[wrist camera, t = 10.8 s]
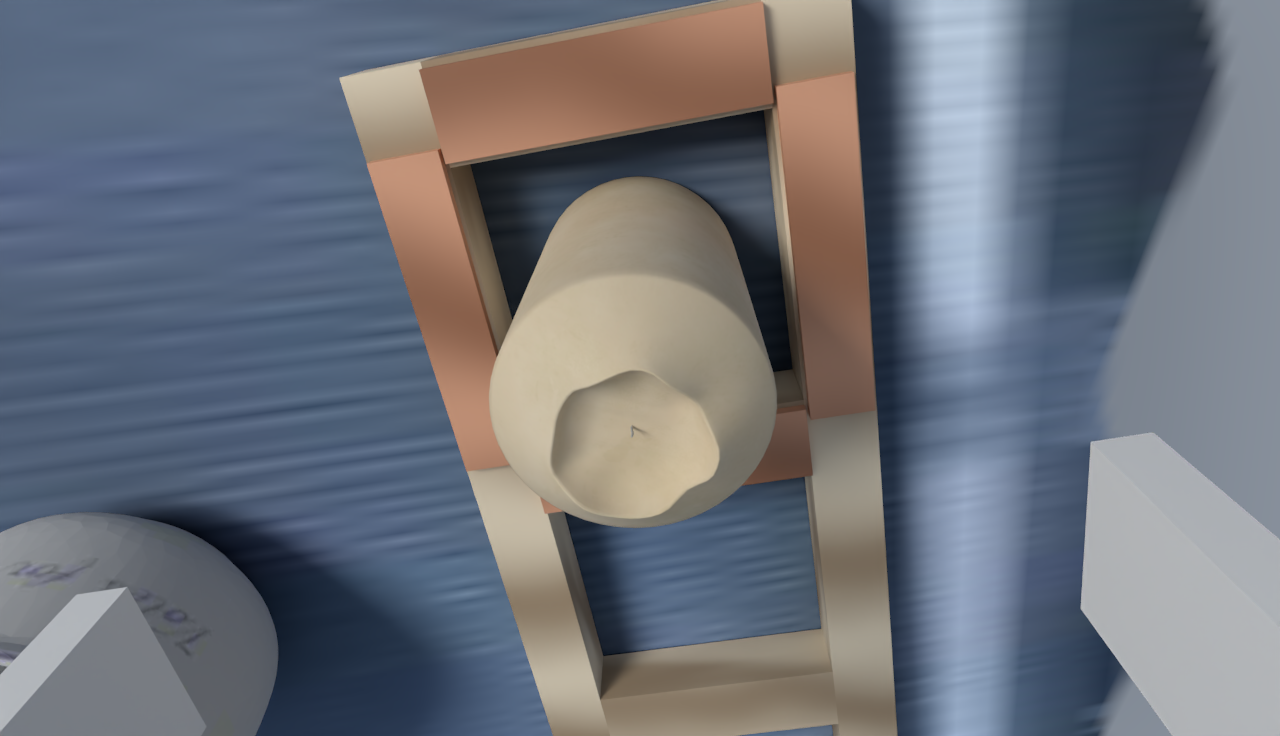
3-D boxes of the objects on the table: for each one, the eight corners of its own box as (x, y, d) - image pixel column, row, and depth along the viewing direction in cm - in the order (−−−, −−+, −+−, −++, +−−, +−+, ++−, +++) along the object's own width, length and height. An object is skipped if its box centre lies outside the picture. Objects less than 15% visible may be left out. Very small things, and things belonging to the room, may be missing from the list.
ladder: (894, 851, 34) (909, 908, 32) (617, 879, 35) (615, 935, 33) (831, -23, 20) (852, -24, 18) (366, 69, 21) (334, 79, 19)
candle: (565, 151, 22) (500, 267, 13) (760, 200, 22) (834, 346, 13) (528, 333, 24) (452, 542, 15) (706, 374, 24) (736, 601, 15)
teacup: (305, 484, 26) (173, 672, 19) (326, 717, 31) (227, 938, 24) (-128, 443, 26) (-428, 619, 19) (-40, 685, 31) (-253, 901, 23)
